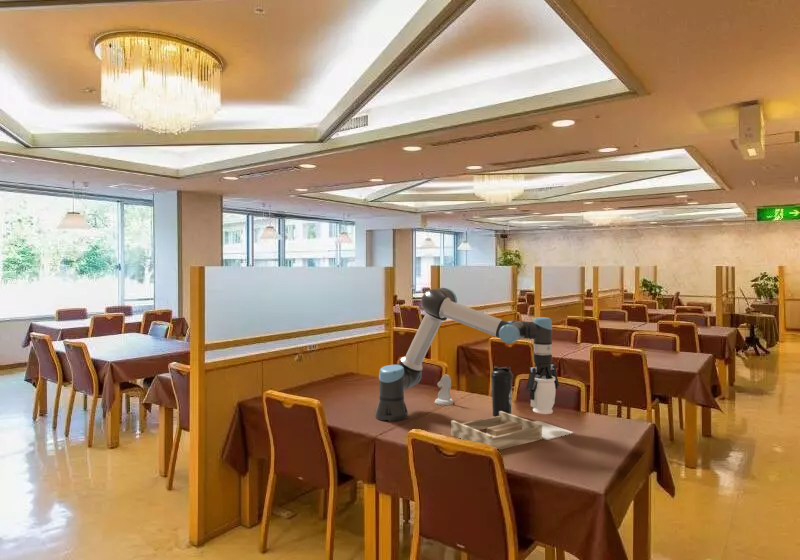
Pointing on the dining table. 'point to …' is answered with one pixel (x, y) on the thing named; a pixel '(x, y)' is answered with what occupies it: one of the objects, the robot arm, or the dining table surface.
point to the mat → (552, 431)
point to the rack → (527, 434)
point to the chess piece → (444, 391)
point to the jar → (545, 395)
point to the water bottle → (501, 390)
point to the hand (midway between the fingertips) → (542, 405)
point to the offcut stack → (504, 429)
